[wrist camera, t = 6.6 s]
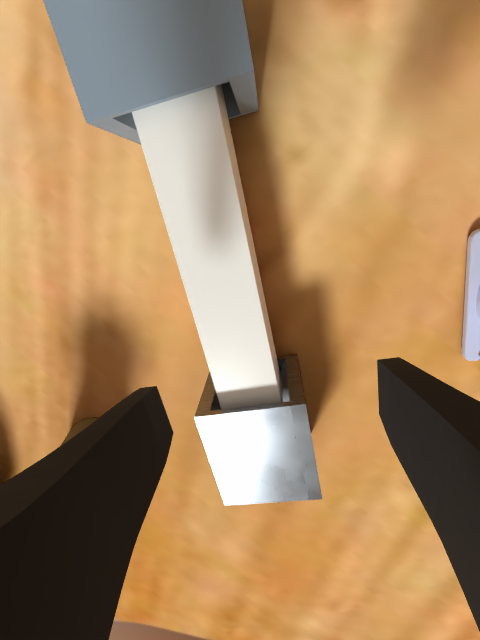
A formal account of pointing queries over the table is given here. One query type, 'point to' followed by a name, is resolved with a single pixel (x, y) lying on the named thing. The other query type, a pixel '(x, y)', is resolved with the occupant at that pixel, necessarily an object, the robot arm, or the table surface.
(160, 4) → the socket
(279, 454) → the metal block
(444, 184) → the table surface
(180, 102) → the long white plank
